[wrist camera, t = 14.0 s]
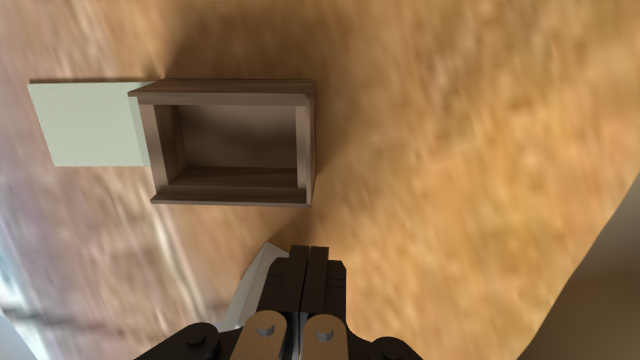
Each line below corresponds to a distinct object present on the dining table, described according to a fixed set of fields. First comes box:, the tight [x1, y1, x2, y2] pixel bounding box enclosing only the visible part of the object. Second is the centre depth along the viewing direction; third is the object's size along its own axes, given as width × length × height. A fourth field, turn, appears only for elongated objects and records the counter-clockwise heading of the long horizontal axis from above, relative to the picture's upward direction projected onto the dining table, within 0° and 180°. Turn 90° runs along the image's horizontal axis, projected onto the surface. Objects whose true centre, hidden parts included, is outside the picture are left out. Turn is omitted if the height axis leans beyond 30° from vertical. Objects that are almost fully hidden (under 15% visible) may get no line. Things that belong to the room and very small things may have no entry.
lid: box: [27, 81, 156, 167], centre depth 41 cm, size 10×15×4 cm, turn 91°
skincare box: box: [219, 242, 289, 333], centre depth 42 cm, size 8×6×15 cm
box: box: [127, 79, 316, 208], centre depth 38 cm, size 11×16×7 cm
